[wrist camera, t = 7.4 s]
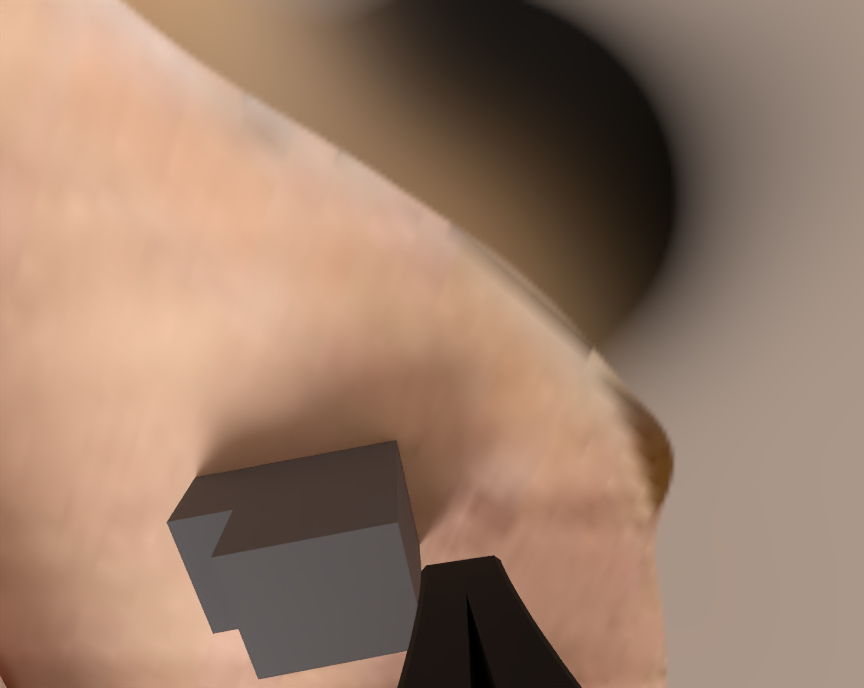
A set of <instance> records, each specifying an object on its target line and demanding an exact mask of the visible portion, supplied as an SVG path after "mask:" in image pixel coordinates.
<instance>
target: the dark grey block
mask: <svg viewBox="0 0 864 688" xmlns="http://www.w3.org/2000/svg"><path fill="white" fill-rule="evenodd" d="M167 524H168V526H169V529H170V531H171V534H172V536H173V538H174V541H175V543H176V546H177V548H178V550H179V553H180V555H181V558H182V560H183V562H184V565H185V567H186V570H187V572H188V574H189V577H190V579H191V581H192V584H193V586H194V589H195V591H196V593H197V596H198V598H199V601H200V603H201V605H202V608H203V610H204V613H205V615H206V617H207V620H208V622H209V625H210V627H211V629H212V632H213V634H214V633H219V632H224V631H230V630H235V629H239V631H240V634H241V636H242V639H243V641H244V644H245V647H246V649H247V652H248V654H249V657H250V659H251V662H252V664H253V667H254V669H255V672H256V675H257V677H258V679H263V678H268V677H274V676H279V675H284V674H289V673H294V672H299V671H305V670H310V669H315V668H320V667H325V666H330V665H336V664H341V663H346V662H351V661H356V660H362V659H367V658H372V657H377V656H382V655H387V654H393V653H398V652H403V651H407V650H408V647H409V643H410V639H411V635H412V630H413V625H414V621H415V616H416V611H417V605H418V599H419V592H420V583H421V560H420V546H419V541H418V536H417V531H416V527H415V522H414V518H413V513H412V509H411V504H410V499H409V495H408V490H407V486H406V481H405V477H404V472H403V467H402V463H401V458H400V454H399V449H398V445H397V440H395V441H390V442H384V443H379V444H373V445H368V446H363V447H357V448H352V449H347V450H341V451H336V452H330V453H325V454H320V455H314V456H309V457H303V458H298V459H293V460H287V461H282V462H277V463H271V464H266V465H260V466H255V467H250V468H244V469H239V470H234V471H228V472H223V473H217V474H212V475H207V476H201V477H196V478H195V479H194V480H193V482H192V483H191V485H190V487H189V488H188V490H187V491H186V493H185V494H184V496H183V498H182V499H181V501H180V502H179V504H178V505H177V507H176V509H175V510H174V512H173V513H172V515H171V516H170V518H169V520H168V521H167Z"/></svg>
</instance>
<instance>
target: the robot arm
mask: <svg viewBox="0 0 864 688" xmlns="http://www.w3.org/2000/svg"><path fill="white" fill-rule="evenodd" d="M397 688H582V687H581V686H580V685H579V683H578V682H577V681H576V679H575V678H574V677H573V675H572V674H571V672H570V671H569V670H568V668H567V667H566V666H565V664H564V663H563V662H562V660H561V659H560V657H559V656H558V654H557V653H556V652H555V650H554V649H553V647H552V646H551V644H550V643H549V642H548V640H547V639H546V637H545V636H544V634H543V633H542V632H541V630H540V629H539V627H538V626H537V624H536V622H535V621H534V619H533V618H532V616H531V615H530V613H529V612H528V610H527V608H526V607H525V605H524V603H523V602H522V600H521V599H520V597H519V595H518V593H517V592H516V590H515V588H514V586H513V585H512V583H511V581H510V579H509V577H508V575H507V573H506V571H505V569H504V567H503V565H502V563H501V560H500V559H498V558H497V557H495V556H494V555H493V556H486V557H480V558H473V559H466V560H460V561H453V562H446V563H440V564H433V565H427V566H426V567H425V568H424V569H423V570H422V571H421V583H420V592H419V599H418V605H417V611H416V616H415V621H414V625H413V630H412V635H411V639H410V643H409V647H408V650H407V654H406V658H405V662H404V666H403V669H402V673H401V677H400V681H399V684H398V687H397Z"/></svg>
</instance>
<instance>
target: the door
mask: <svg viewBox="0 0 864 688" xmlns="http://www.w3.org/2000/svg"><path fill="white" fill-rule="evenodd" d="M0 688H7V687H6V686H5V684H4V682H3V680H2V678H1V677H0Z"/></svg>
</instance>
